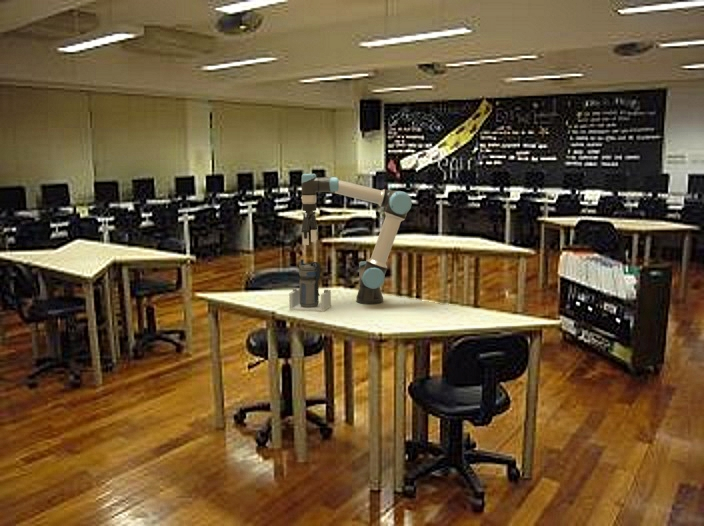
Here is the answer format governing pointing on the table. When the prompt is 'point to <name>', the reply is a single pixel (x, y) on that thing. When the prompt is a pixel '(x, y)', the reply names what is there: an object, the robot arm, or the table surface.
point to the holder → (295, 305)
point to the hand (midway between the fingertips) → (309, 243)
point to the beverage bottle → (309, 283)
